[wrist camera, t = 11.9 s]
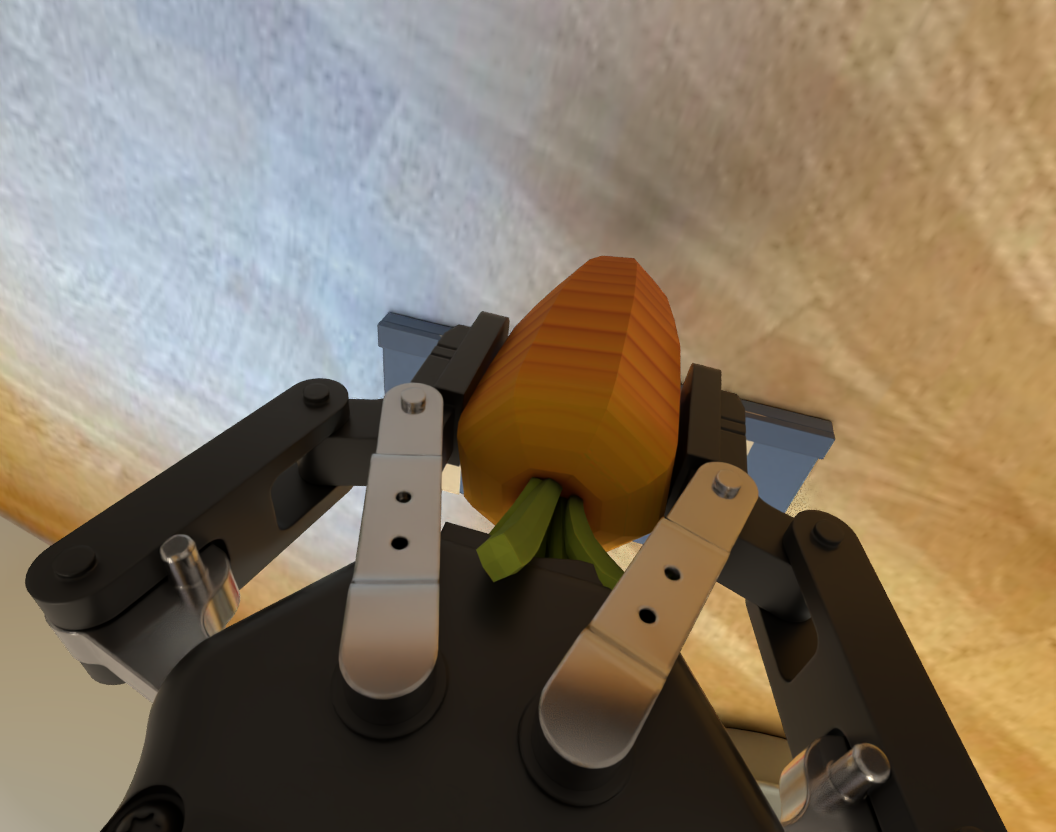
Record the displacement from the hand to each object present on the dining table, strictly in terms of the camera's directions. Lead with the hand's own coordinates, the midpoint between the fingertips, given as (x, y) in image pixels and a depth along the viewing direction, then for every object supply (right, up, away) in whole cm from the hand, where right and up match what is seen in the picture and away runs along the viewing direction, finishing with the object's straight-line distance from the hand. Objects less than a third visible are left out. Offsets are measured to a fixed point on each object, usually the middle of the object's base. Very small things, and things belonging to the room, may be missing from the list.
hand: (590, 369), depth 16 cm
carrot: (+2, +4, +5) cm, 7 cm away
